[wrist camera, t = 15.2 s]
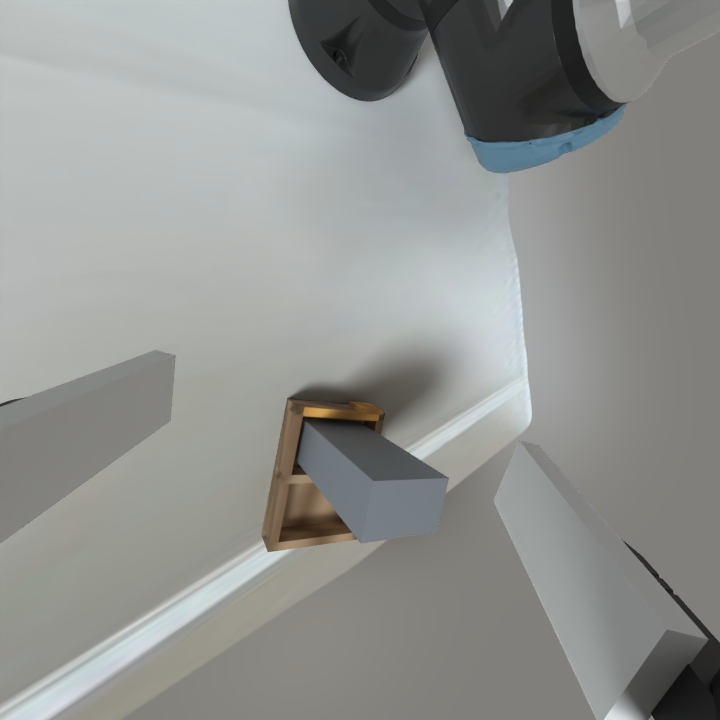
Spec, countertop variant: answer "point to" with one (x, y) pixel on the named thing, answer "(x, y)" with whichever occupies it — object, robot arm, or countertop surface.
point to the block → (370, 480)
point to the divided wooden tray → (307, 481)
